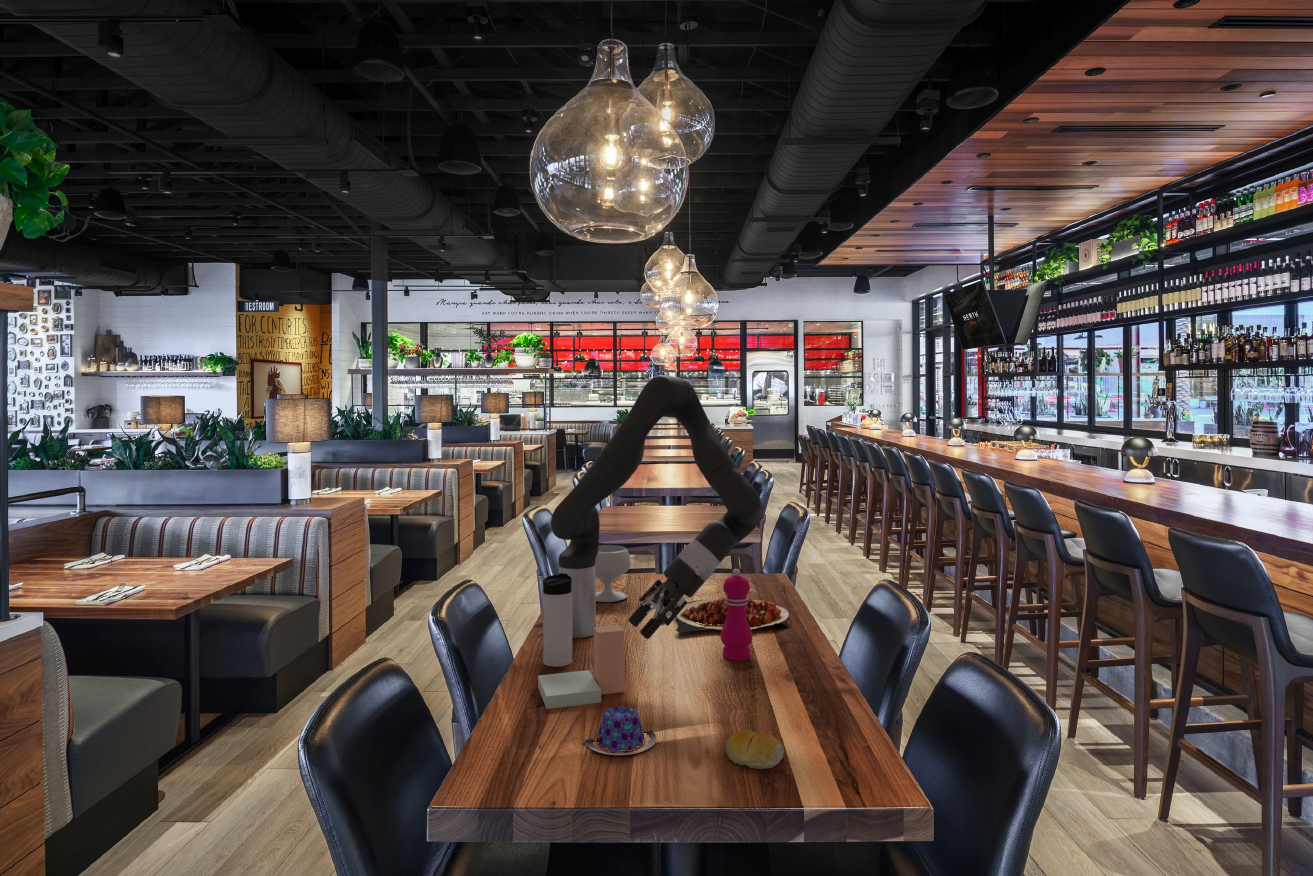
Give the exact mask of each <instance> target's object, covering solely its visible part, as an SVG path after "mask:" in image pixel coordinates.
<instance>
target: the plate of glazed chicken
mask: <svg viewBox="0 0 1313 876" xmlns="http://www.w3.org/2000/svg"><path fill="white" fill-rule="evenodd" d="M725 598H726V597H722V598H720V597H719V598H708V599H706V598H705V599H699V600H692V601H687V604H686V605H685V607H684V608H683V609H682V610H681V611H680V613H679V614H678V615H677V616H676V617H675V619H677V622H678V627H676V629H675V631H676V633H686V632H687V633H688V632H695V631H697V632H698V631H703V630H720V628H718V627H717V628H715V627H716V626H714V625H713V624H723V625H722V626H724V624H725V621H726V619H727V615H728V605H727V604H726V599H725ZM747 602H748V603H747V604H746V607H745V615H746V619H747V622H748V624H749V626H750V629H751V630H754V629H755V630H756V629H758V628H763V627H768V626H773V625H775V624H776V625H777V624H780V625H783V626H784V627H787V628H790V625H791V622H790V618H789V617H790V612H789V611H788V610H787V609H786V608H785V607H782V606H779V605H777V604H776V603H775V602H771V601H767V600H756V599H751V598H748V599H747ZM696 622H699V623H702V624H701V625H700V624H697V623H696ZM706 623H707V624H712V625H713V626H710V627H709V626H705V625H703V624H706ZM702 625H703V626H702ZM704 626H705V627H704ZM752 627H753V628H752Z"/></svg>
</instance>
